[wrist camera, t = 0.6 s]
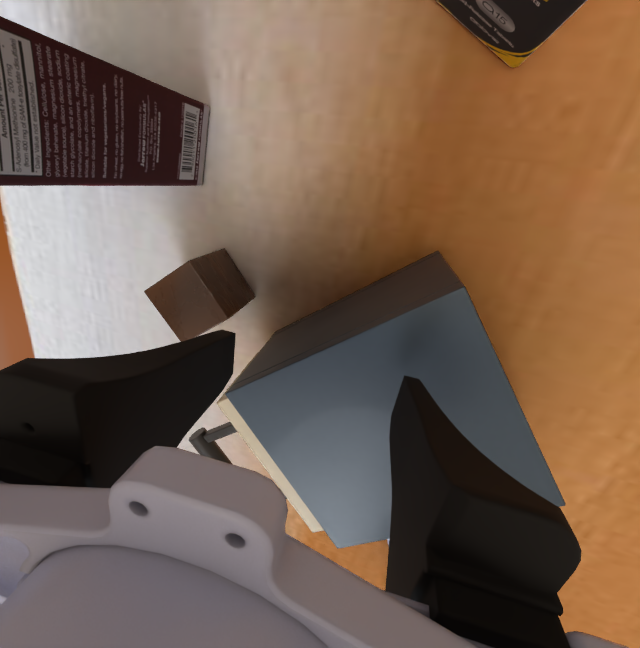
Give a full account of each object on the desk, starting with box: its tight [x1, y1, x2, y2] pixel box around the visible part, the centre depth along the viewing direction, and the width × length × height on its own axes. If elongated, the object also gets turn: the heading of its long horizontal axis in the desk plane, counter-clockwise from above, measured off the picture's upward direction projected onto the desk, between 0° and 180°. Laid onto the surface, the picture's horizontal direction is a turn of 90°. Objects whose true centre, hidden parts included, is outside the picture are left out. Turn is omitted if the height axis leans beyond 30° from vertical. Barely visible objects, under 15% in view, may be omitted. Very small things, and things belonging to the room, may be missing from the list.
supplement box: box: [0, 16, 210, 186], centre depth 14 cm, size 9×5×16 cm, turn 74°
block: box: [144, 249, 255, 342], centre depth 22 cm, size 4×4×4 cm
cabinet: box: [225, 251, 565, 548], centre depth 20 cm, size 13×12×8 cm
